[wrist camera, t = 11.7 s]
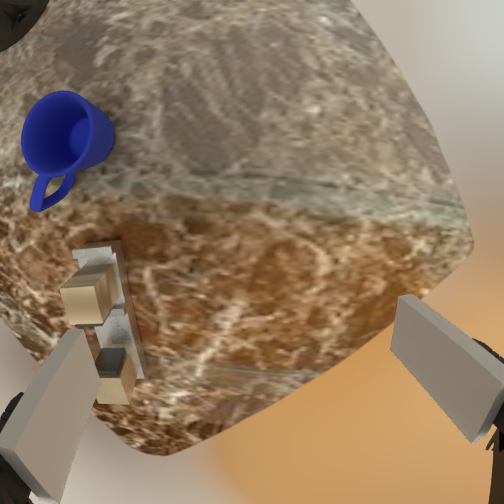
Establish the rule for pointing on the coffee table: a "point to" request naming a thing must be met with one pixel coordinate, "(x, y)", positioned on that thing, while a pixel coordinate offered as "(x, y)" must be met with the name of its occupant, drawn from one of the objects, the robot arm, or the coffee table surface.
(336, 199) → the coffee table surface
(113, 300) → the tan cardboard carton
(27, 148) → the mug
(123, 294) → the rail
